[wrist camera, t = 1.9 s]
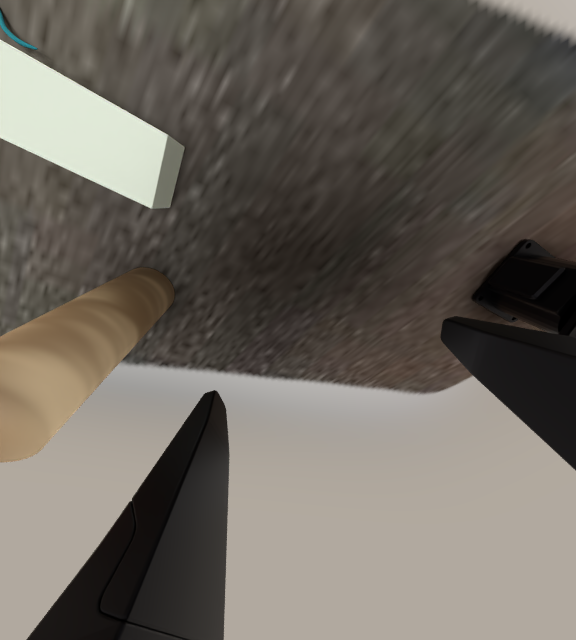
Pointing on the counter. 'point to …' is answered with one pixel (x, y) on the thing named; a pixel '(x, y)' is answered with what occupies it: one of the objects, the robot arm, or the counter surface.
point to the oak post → (71, 356)
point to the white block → (84, 131)
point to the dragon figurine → (1, 22)
